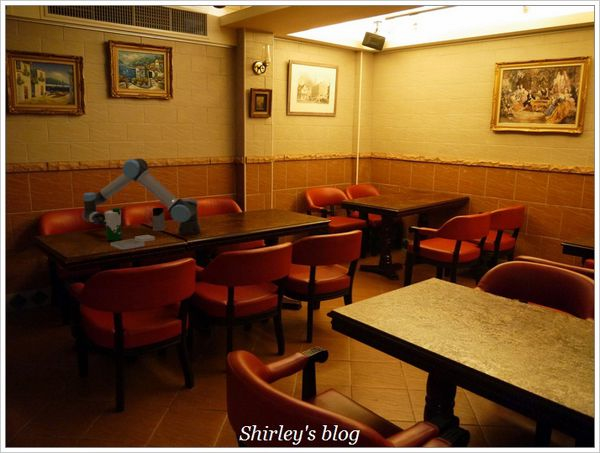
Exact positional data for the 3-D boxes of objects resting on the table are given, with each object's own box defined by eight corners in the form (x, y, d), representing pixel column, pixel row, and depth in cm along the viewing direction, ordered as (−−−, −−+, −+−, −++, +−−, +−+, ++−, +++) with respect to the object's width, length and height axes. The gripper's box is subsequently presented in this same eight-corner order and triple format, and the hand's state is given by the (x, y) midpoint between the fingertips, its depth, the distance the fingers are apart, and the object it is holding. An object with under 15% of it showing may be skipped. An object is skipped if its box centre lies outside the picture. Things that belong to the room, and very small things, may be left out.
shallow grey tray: (132, 241, 325) (132, 238, 324) (144, 245, 315) (144, 242, 315) (110, 245, 315) (110, 242, 314) (122, 249, 305) (122, 246, 304)
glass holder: (161, 230, 358) (161, 209, 355) (143, 229, 361) (142, 208, 358) (167, 228, 367) (166, 207, 364) (149, 227, 369) (148, 206, 366)
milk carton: (118, 240, 323) (116, 209, 319) (104, 240, 324) (102, 209, 319) (123, 237, 332) (122, 207, 328) (110, 237, 332) (108, 207, 328)
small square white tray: (147, 237, 337) (147, 234, 336) (154, 240, 331) (154, 236, 330) (135, 239, 330) (134, 236, 330) (142, 242, 324) (141, 239, 324)
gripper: (111, 221, 345) (127, 226, 329) (84, 225, 332) (100, 231, 316) (110, 210, 343) (127, 215, 328) (83, 214, 331) (99, 219, 315)
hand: (113, 223), depth 322 cm, fingers closed on milk carton, 5 cm apart
